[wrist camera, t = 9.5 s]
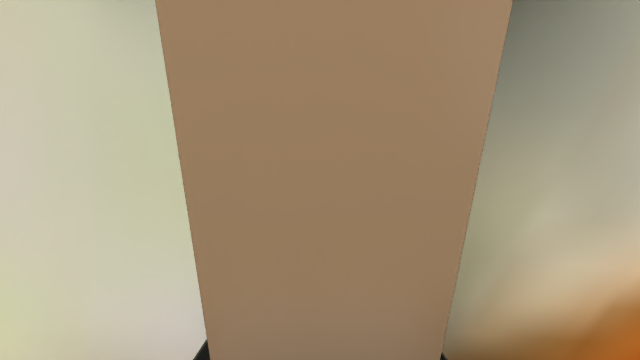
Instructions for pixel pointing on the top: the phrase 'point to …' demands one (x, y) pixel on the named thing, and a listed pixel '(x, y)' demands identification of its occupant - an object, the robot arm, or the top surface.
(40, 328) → the top surface
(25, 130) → the top surface
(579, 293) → the top surface
